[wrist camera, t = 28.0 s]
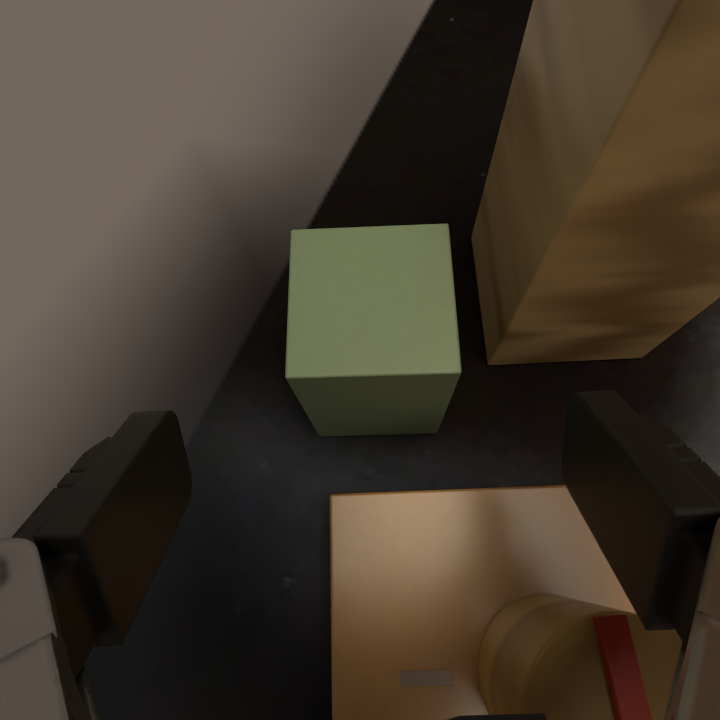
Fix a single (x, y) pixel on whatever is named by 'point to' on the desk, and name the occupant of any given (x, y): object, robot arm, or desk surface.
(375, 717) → the lock plate
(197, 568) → the desk surface
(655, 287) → the stand
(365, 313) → the block
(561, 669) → the lock knob
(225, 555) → the desk surface
